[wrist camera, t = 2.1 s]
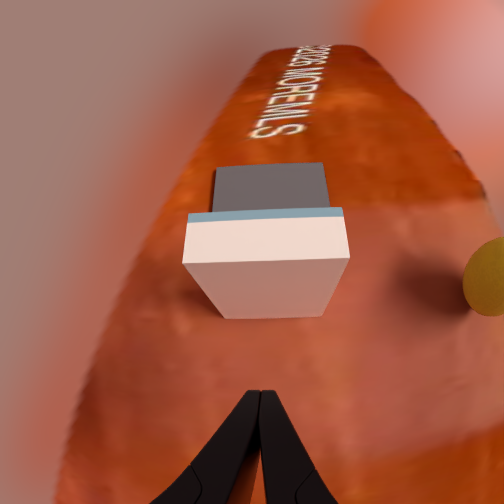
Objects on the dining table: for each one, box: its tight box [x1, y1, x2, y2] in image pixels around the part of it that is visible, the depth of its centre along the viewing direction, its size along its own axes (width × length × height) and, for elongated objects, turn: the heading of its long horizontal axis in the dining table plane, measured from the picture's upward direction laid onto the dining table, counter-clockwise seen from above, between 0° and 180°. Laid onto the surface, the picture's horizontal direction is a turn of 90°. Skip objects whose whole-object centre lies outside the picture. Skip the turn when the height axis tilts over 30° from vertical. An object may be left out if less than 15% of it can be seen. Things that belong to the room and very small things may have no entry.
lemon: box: [463, 237, 504, 316], centre depth 16 cm, size 6×6×8 cm
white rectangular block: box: [182, 207, 350, 319], centre depth 17 cm, size 2×7×10 cm, turn 89°
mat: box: [212, 163, 330, 212], centre depth 25 cm, size 11×10×1 cm
